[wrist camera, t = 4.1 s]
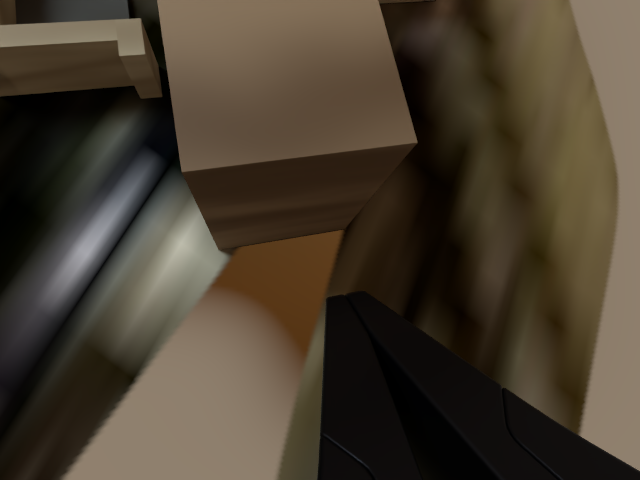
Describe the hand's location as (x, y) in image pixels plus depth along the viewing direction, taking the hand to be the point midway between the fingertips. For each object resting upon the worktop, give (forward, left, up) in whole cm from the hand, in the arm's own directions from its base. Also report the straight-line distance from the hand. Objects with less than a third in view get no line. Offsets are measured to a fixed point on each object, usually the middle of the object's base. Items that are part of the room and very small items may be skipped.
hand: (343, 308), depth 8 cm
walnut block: (+10, +6, -9) cm, 15 cm away
